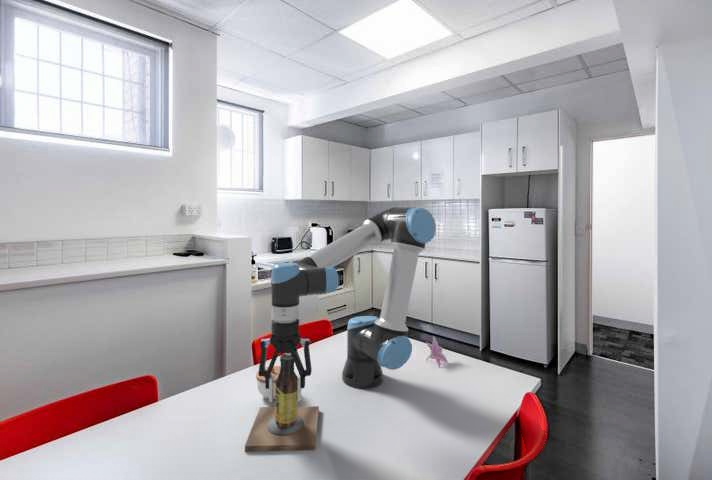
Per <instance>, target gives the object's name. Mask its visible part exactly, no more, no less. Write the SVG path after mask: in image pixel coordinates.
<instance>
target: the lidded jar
mask: <svg viewBox="0 0 712 480" xmlns="http://www.w3.org/2000/svg"><path fill="white" fill-rule="evenodd" d="M268 367H269V366H265V370H268ZM280 369H281V365H274V367H273V369H272V372H271V374H274V397H273V400H275V386H276V380H277V378H278V376H279V373H280ZM258 373H259V370H258V371H257V372H256V375H255V378H256V387H257V390H258V393H259V394H260V395H261V396H263V398H264V399H265V400H269V389H266V387H265V377H264V376H259V375H258Z"/></svg>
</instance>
